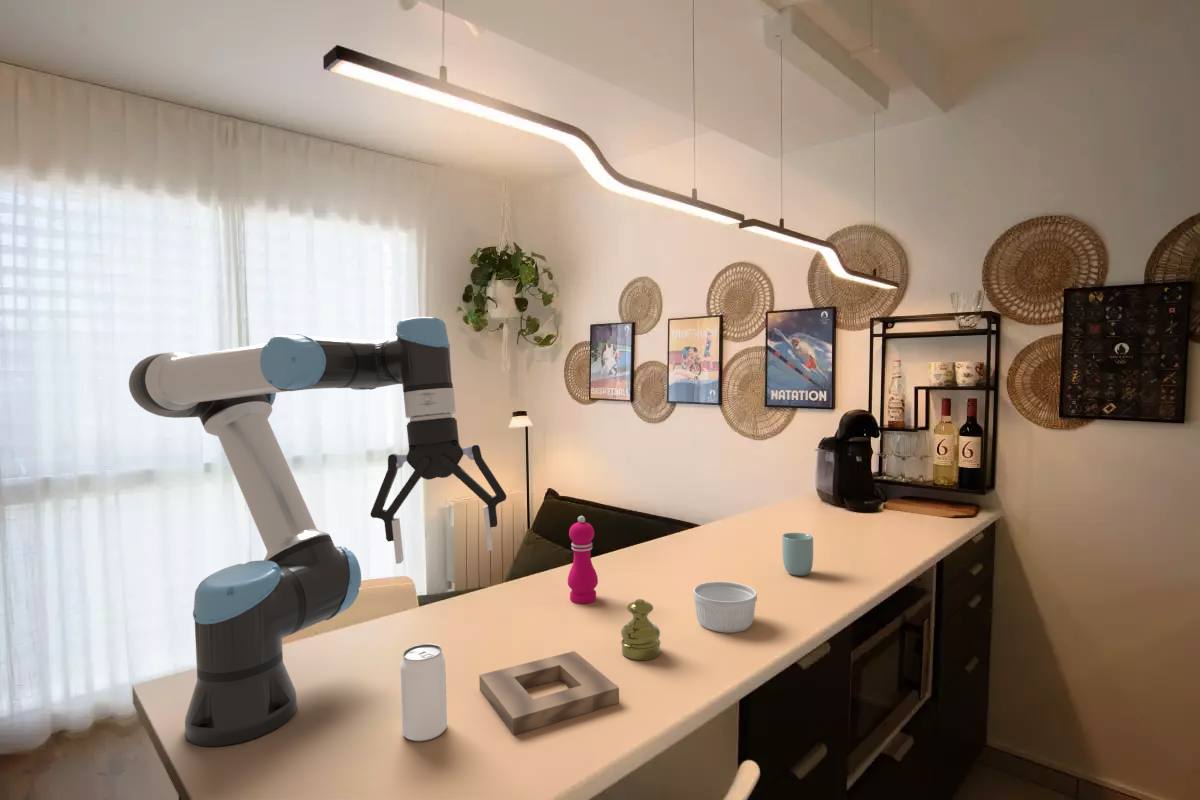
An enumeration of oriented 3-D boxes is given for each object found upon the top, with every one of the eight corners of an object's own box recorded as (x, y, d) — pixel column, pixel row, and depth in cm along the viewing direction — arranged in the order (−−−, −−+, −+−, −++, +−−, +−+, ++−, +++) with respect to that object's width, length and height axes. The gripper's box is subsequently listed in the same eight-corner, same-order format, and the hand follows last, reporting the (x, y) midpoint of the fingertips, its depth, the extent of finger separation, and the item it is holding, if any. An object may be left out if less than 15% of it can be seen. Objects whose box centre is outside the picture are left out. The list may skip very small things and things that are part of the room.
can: (430, 714, 98) (427, 639, 98) (456, 728, 94) (453, 649, 94) (393, 733, 93) (391, 653, 93) (419, 748, 89) (416, 665, 89)
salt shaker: (615, 648, 121) (614, 597, 121) (650, 642, 124) (649, 592, 123) (630, 664, 114) (629, 610, 114) (667, 657, 117) (666, 604, 116)
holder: (513, 735, 92) (513, 718, 92) (479, 689, 106) (479, 674, 106) (619, 702, 100) (618, 687, 100) (575, 664, 114) (574, 650, 114)
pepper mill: (571, 606, 144) (569, 520, 144) (565, 596, 151) (563, 514, 151) (601, 602, 146) (600, 517, 146) (593, 592, 153) (592, 511, 153)
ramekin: (758, 614, 137) (757, 583, 137) (756, 638, 124) (755, 603, 124) (697, 609, 141) (696, 579, 140) (689, 632, 128) (689, 599, 128)
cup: (809, 569, 168) (809, 532, 168) (816, 578, 160) (816, 539, 160) (780, 569, 169) (779, 532, 169) (785, 578, 161) (785, 539, 161)
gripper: (341, 427, 91) (355, 573, 90) (513, 409, 95) (527, 548, 95) (352, 426, 98) (365, 561, 98) (511, 410, 103) (524, 538, 102)
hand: (445, 555), depth 96 cm, fingers open, 13 cm apart
